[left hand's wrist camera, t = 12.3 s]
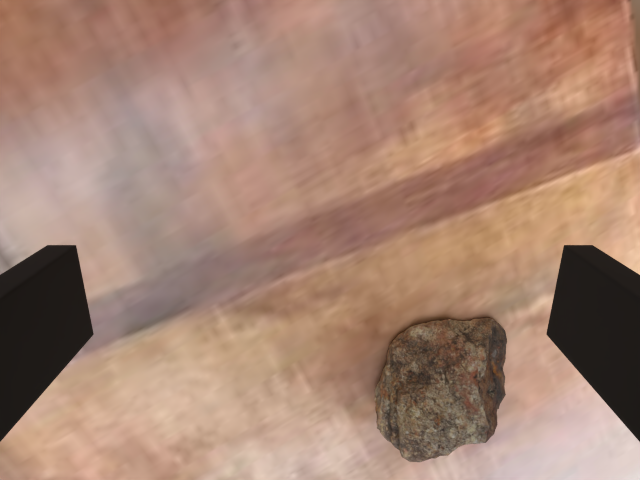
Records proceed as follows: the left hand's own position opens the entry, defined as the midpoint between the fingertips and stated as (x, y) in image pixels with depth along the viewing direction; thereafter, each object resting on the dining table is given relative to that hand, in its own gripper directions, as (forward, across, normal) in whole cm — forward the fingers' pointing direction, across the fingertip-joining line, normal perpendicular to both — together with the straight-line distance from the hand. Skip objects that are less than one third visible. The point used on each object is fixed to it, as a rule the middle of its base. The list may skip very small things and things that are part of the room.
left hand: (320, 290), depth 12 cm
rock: (+28, -12, +22) cm, 38 cm away
